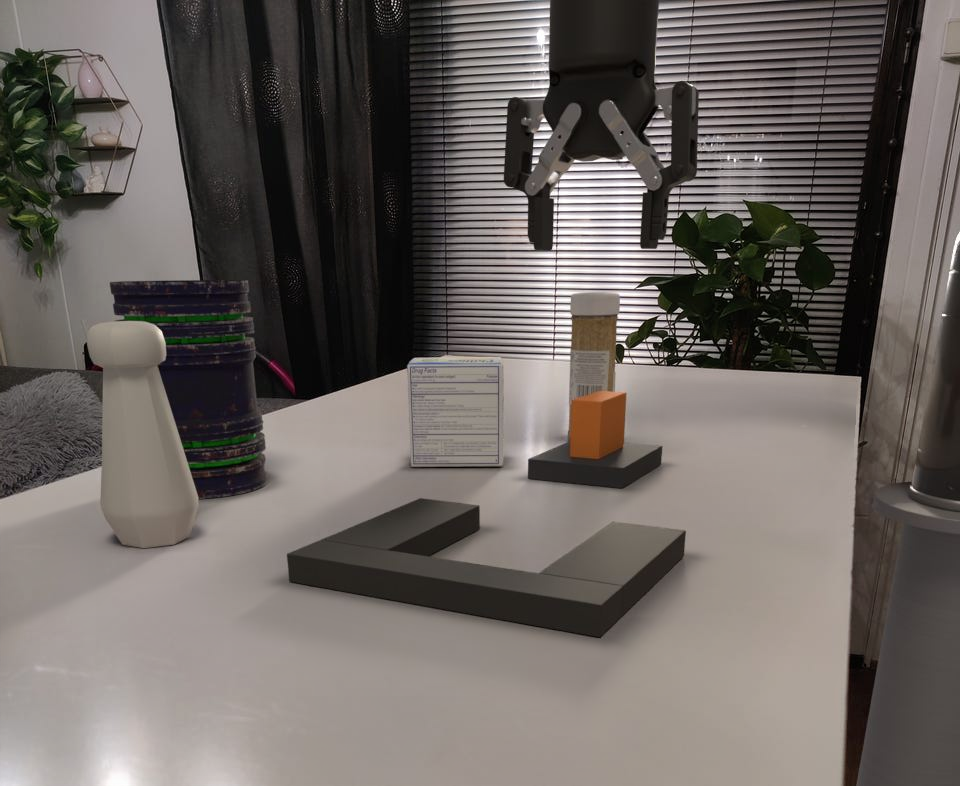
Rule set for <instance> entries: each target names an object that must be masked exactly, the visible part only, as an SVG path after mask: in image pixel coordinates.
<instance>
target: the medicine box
mask: <svg viewBox="0 0 960 786" xmlns="http://www.w3.org/2000/svg"><path fill="white" fill-rule="evenodd" d="M504 371H505V370H504V359H503V358H502V357H501V356H443V357H442V356H439V357H433V356H432V357H413V358H412V359H411V360H409V362H408V364H406V372H407V393H408V421H409V422H408V423H409V441H410V444H409V445H410V466H411V467H412V468H423V467H424V468H438V467H440V468H442V467H445V468H446V467H447V468H448V467H449V468H450V467H451V468H453V467H455V468H456V467H458V468H459V467H461V468H462V467H465V468H466V467H503V466H504V453H505V452H504V449H505V448H504V447H505V433H504V431H505V426H504V425H505V399H504V398H505V380H504V379H505V377H504V376H505V375H504Z"/></svg>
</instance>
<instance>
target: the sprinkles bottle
mask: <svg viewBox="0 0 960 786" xmlns="http://www.w3.org/2000/svg"><path fill="white" fill-rule="evenodd" d="M620 306H621V295H620V294H619V293H617V292H611V291H585V292H583V291H582V292H576V293H572V294H571V295H570V308H569V313H570V315H571V317H570V319H571V338H570V339H571V341H570V342H571V343H570V355H569V356H570V357H569V383H568V384H569V386H568V387H569V389H568V405H569V406H568V407H569V409H568V412H569V413H568V414H569V415H568V430H567V437H568V438H569V439H570V435H571V402H572V400H573V399H576V398H579V397H582V396H585V395H588V394H591V393H594V392H597V391H610V392H616V374H617V373H616V358H617V357H616V356H617V351H616V350H617V333H618V332H617V330H618V329H617V324H618V319H619V316H618V315H619V314H620V310H621V309H620V308H621V307H620Z"/></svg>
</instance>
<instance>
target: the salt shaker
mask: <svg viewBox="0 0 960 786" xmlns="http://www.w3.org/2000/svg"><path fill="white" fill-rule="evenodd" d="M114 321H115V320H114ZM114 321H107V322H100V323H97V324H94V325H92V326H91V327H90V329H88V331H87V333H86V334H87V335H86V346H87V351H88V354H89V355H88V356H89V358H90V359H91V362H92V363H93V365H95V366H98V367H100V368H102V413H101V414H102V417H101V418H102V420H101V421H102V424H101V428H102V430H101V471H100V472H101V473H100V475H101V476H100V498H99V499H100V500H99V501H100V508H101V511H102V515H103V517H104V519H105V520H106V522H107V523H108V525H109V526H110V528H111V529H112V531H113V532H114V534H115V536H116V537H117V539H118V540H119V542H120V543H121V545H123V546H129V547H134V548H140V549H149V548H156V547H157V548H158V547H165V546H166V547H167V546H173V545H174V546H175V545H176V544H178V543H180V542H182V541H184V540H187V539H189V538H190V537H191V535H192V531H193V528H194V523H195V520H196V516H197V512H198V509H199V499H198V495H197V491H196V488H195V485H194V482H193V478H192V475H191V472H190V469H189V466H188V462H187V459H186V456H185V453H184V449H183V446H182V443H181V440H180V437H179V433H178V430H177V427H176V424H175V421H174V417H173V414H172V411H171V408H170V404H169V401H168V398H167V395H166V392H165V388H164V385H163V382H162V379H161V375H160V372H159V369H158V366H157V365H158V364H160V363H162V362H163V361H165V359H166V344H165V340H164V337H163V333H162V331H161V330H160V329H159V328H158V327H157V326H156V325H154V324H151V323H148V322H143V321H115V322H114Z"/></svg>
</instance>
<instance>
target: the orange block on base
mask: <svg viewBox="0 0 960 786" xmlns="http://www.w3.org/2000/svg"><path fill="white" fill-rule="evenodd" d="M627 394H628V393H627V392H626V391H615V392H610V391H597V392H594V393H591V394H588V395H585V396H582V397H579V398H576V399H573V400H572V402H571V435H570V438H569V441H566V442H564V443H562V444H560V445H558V446H555V447H552V448H551V449H548V450H546V451H544V452H541V453H539V454H536V455H534V456H531V457H529V458H528V459H527V479H529V480H538V481H548V482H558V483H567V484H568V483H569V484H574V485H575V484H577V485H586V486H595V487H605V488H616V489H624V488H625V487H627V486H629V485H631V484H632V483H634V482H635V481H637V480H639V479H640V478H642V477H644V476H645V475H646V474H648V473H649V472H651V471H653V470H654V469H656V468H658V467H660V466H661V465H662V459H663V458H662V457H663V446H662V445H657V444H656V445H655V444H645V443H644V444H643V443H631V442H625V429H626V411H627Z"/></svg>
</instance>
